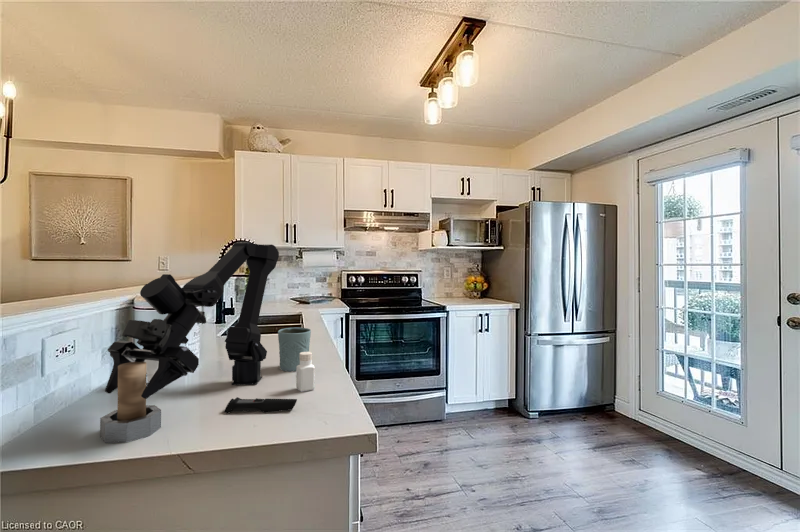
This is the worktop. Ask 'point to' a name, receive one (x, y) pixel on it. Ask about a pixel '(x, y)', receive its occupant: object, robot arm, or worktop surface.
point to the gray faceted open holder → (130, 426)
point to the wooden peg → (131, 391)
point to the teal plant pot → (292, 346)
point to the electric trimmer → (259, 405)
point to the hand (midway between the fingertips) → (124, 395)
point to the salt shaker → (305, 373)
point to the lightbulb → (151, 368)
